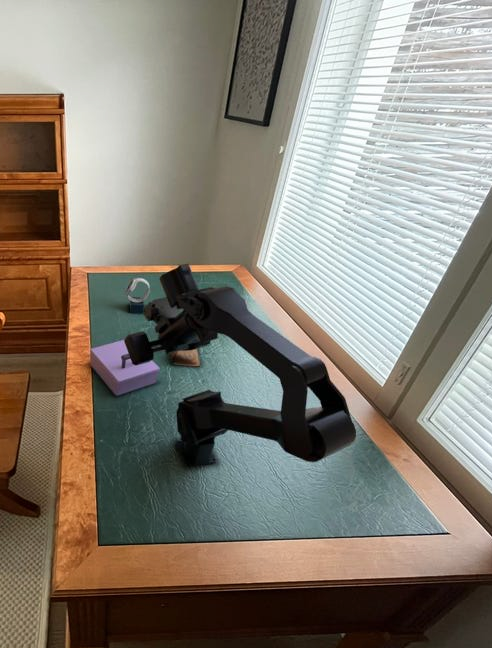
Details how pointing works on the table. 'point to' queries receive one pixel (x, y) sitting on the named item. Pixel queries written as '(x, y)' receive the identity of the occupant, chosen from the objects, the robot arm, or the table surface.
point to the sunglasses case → (185, 358)
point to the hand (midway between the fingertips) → (152, 353)
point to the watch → (136, 302)
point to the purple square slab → (121, 362)
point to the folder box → (124, 386)
